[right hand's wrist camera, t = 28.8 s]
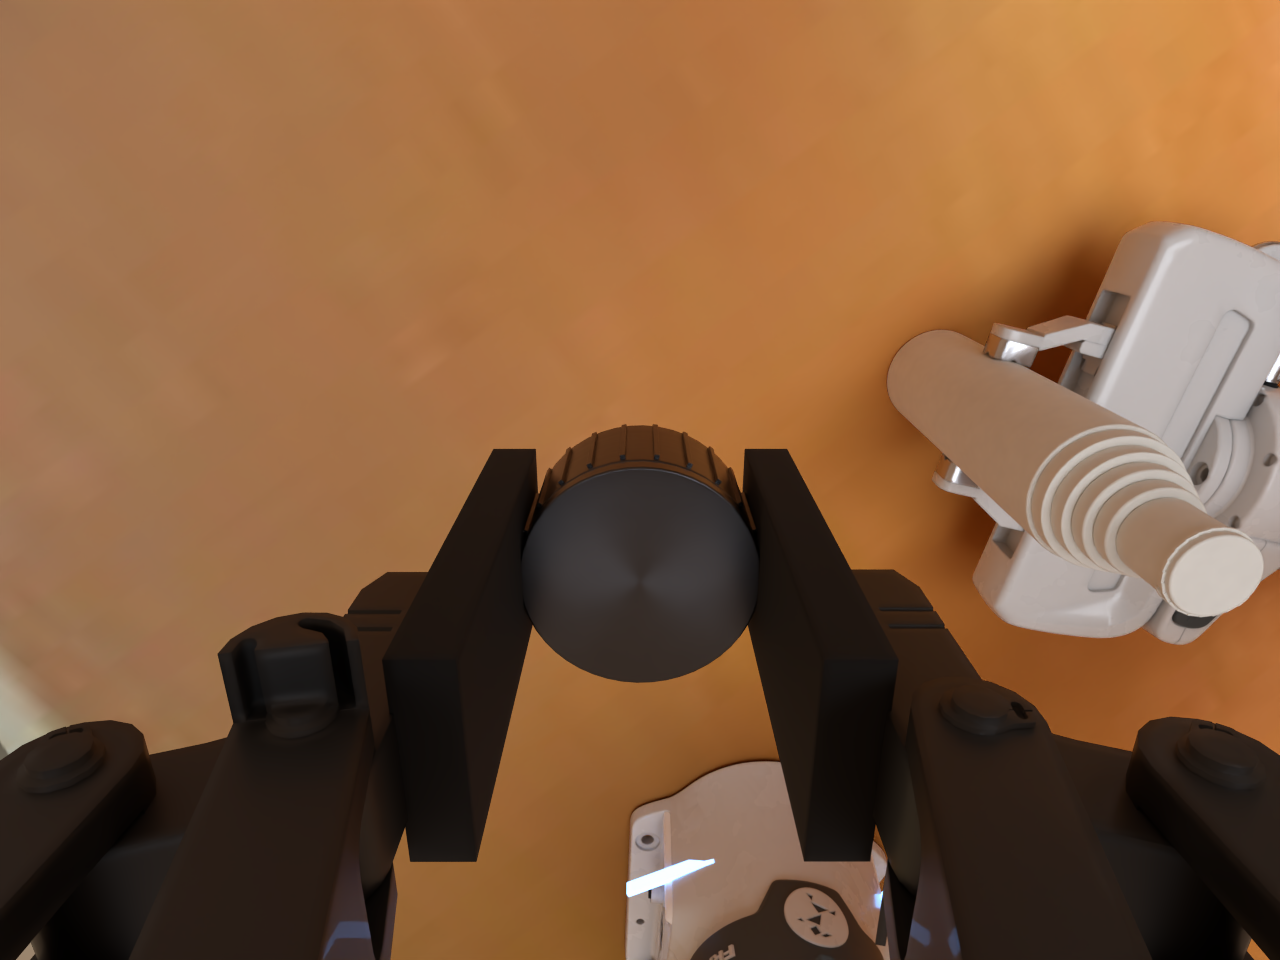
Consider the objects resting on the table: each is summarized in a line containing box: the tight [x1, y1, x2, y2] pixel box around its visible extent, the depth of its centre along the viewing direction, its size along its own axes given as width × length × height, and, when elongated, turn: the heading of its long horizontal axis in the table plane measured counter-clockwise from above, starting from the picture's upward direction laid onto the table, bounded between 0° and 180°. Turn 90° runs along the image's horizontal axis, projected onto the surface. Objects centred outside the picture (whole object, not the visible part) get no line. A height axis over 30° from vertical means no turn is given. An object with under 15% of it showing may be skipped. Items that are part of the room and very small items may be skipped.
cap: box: [521, 424, 760, 683], centre depth 13 cm, size 4×4×2 cm
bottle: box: [887, 330, 1264, 617], centre depth 33 cm, size 5×5×23 cm
